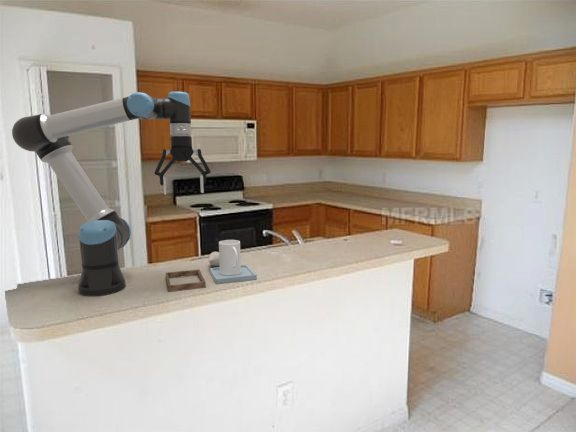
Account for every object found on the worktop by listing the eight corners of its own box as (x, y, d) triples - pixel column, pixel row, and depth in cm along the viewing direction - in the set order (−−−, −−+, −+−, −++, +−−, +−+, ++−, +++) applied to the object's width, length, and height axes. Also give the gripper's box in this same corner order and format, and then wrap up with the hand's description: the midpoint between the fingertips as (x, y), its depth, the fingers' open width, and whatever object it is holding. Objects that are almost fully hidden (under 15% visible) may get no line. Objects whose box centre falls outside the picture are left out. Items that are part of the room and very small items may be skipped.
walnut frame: (168, 291, 146) (168, 286, 145) (165, 277, 161) (165, 272, 161) (205, 287, 150) (205, 281, 149) (199, 274, 165) (199, 269, 165)
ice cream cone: (207, 272, 168) (219, 267, 183) (218, 262, 167) (230, 258, 182) (198, 259, 168) (211, 256, 183) (209, 250, 168) (221, 247, 182)
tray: (216, 284, 153) (216, 279, 153) (209, 272, 167) (209, 268, 167) (256, 279, 158) (256, 274, 158) (247, 268, 172) (247, 264, 172)
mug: (247, 276, 159) (246, 244, 157) (224, 279, 155) (223, 247, 153) (237, 268, 169) (237, 238, 167) (216, 270, 166) (215, 240, 164)
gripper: (145, 135, 148) (149, 195, 152) (216, 135, 156) (218, 192, 160) (145, 136, 155) (148, 193, 159) (213, 136, 163) (215, 191, 167)
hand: (183, 193), depth 159 cm, fingers open, 13 cm apart
